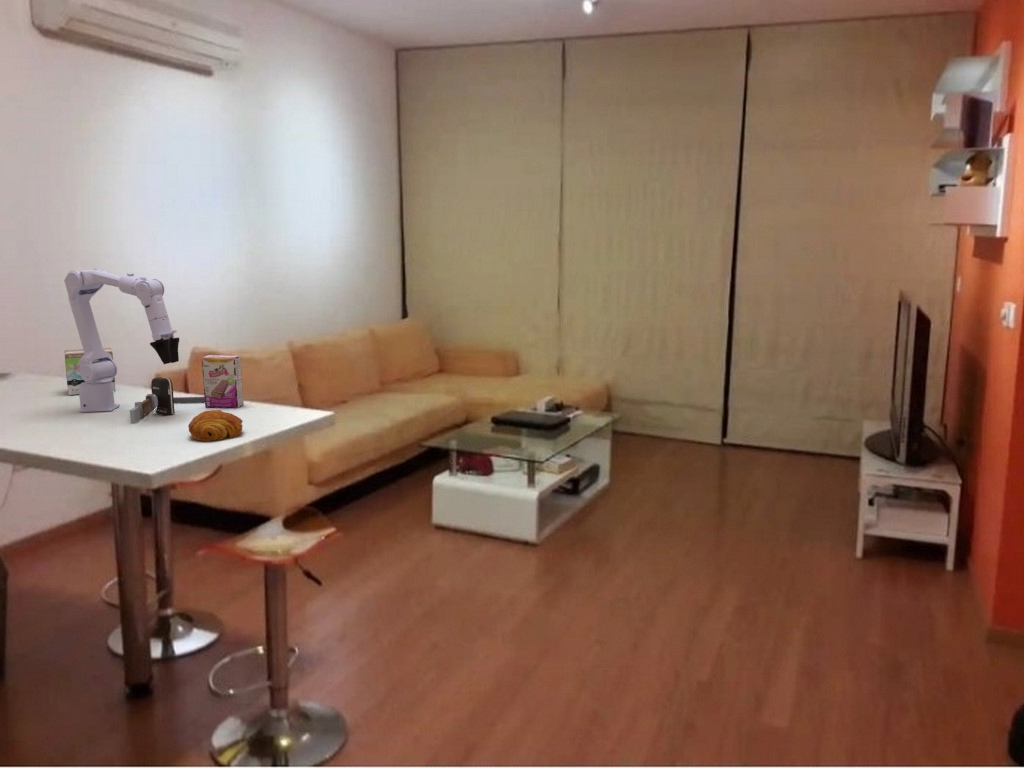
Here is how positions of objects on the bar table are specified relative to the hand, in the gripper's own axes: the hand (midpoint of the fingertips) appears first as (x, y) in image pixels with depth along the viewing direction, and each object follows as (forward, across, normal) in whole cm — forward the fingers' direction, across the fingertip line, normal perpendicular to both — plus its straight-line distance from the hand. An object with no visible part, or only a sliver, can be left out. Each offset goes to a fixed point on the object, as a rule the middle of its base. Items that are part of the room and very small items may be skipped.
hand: (171, 362), depth 259 cm
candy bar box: (+18, +14, -8) cm, 24 cm away
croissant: (+24, -22, -13) cm, 35 cm away
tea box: (+2, +45, +42) cm, 61 cm away
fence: (+13, +6, +14) cm, 20 cm away
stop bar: (+13, +22, +8) cm, 26 cm away
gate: (+13, +6, +14) cm, 20 cm away
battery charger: (+15, +6, +8) cm, 18 cm away
